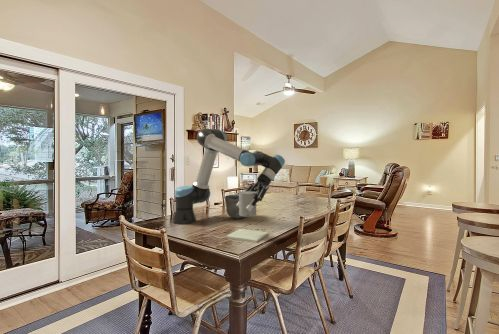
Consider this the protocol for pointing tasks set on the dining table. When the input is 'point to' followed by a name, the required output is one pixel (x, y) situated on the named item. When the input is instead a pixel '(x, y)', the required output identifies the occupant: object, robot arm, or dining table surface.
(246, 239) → the sage placemat
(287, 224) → the dining table surface
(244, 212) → the light grey cylinder
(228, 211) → the grey round pot
